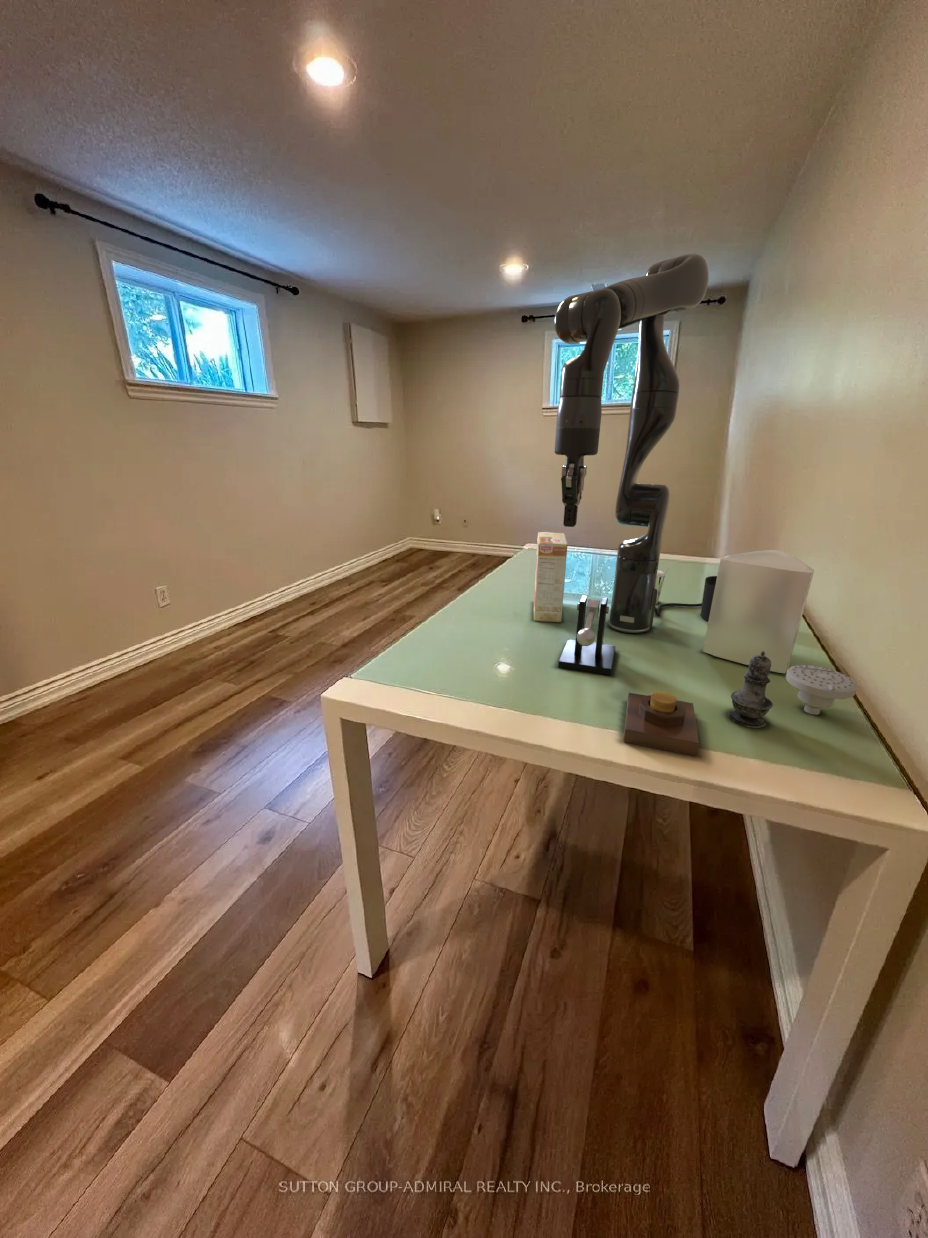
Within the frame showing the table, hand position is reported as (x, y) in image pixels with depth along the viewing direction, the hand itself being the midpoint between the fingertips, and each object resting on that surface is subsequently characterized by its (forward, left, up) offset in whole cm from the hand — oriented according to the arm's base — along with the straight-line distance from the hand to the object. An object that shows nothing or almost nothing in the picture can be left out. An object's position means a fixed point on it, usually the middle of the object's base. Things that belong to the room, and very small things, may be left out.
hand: (569, 525), depth 91 cm
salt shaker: (-14, +32, -27) cm, 44 cm away
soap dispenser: (-38, +15, -27) cm, 49 cm away
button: (+1, +28, -23) cm, 37 cm away
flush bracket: (-5, +3, -27) cm, 28 cm away
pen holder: (-51, -3, -27) cm, 58 cm away
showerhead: (-26, +35, -27) cm, 51 cm away
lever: (-2, +6, -19) cm, 20 cm away
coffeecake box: (-14, -25, -27) cm, 40 cm away
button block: (+1, +28, -27) cm, 39 cm away
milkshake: (-46, -20, -27) cm, 57 cm away
